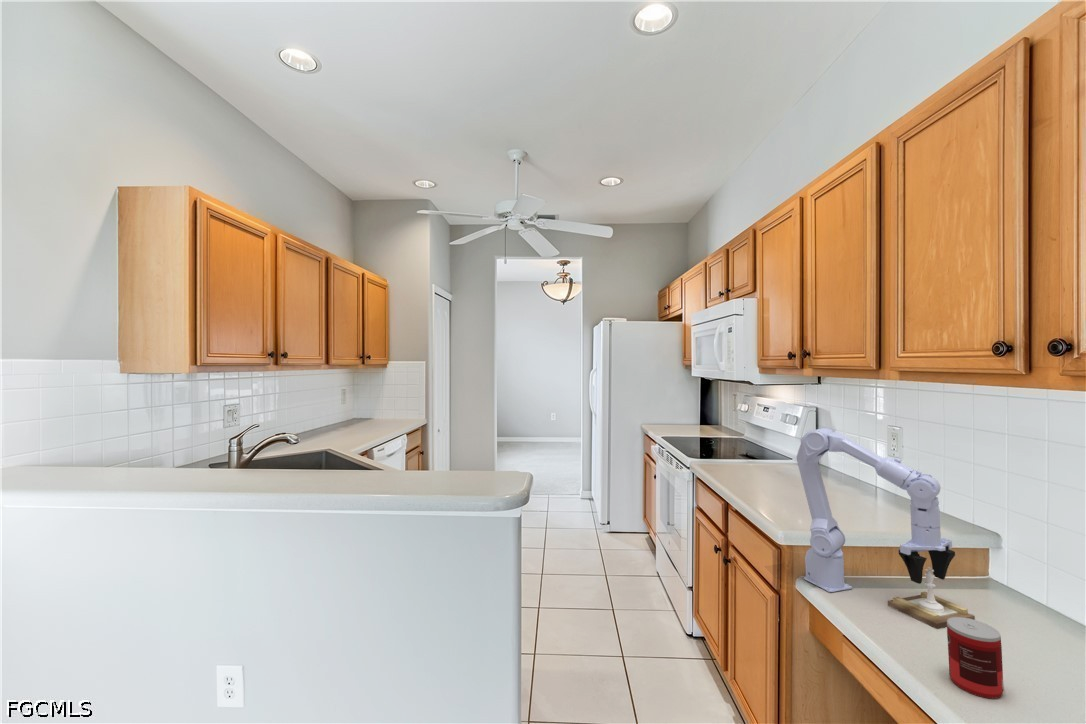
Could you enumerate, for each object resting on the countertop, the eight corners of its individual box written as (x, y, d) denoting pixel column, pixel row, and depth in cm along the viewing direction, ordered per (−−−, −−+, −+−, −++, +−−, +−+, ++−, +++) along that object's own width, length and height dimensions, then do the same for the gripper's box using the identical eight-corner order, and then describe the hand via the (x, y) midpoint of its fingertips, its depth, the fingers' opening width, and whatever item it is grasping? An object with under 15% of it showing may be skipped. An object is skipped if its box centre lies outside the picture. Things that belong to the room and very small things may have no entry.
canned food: (975, 671, 95) (972, 615, 96) (1016, 698, 87) (1013, 637, 88) (938, 673, 95) (935, 617, 95) (976, 700, 87) (972, 639, 87)
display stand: (887, 605, 123) (887, 596, 123) (923, 598, 126) (922, 589, 126) (937, 628, 111) (936, 618, 111) (974, 620, 114) (974, 610, 114)
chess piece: (916, 601, 122) (914, 561, 122) (941, 605, 119) (939, 564, 120) (920, 609, 117) (918, 568, 118) (946, 614, 115) (944, 571, 115)
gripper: (919, 532, 113) (922, 590, 113) (964, 526, 117) (967, 582, 117) (891, 524, 120) (893, 578, 120) (934, 518, 124) (936, 571, 124)
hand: (927, 579), depth 119 cm, fingers open, 7 cm apart
